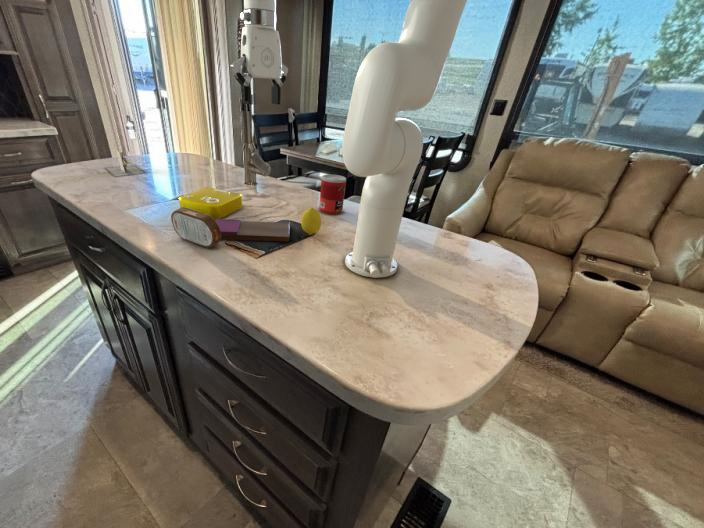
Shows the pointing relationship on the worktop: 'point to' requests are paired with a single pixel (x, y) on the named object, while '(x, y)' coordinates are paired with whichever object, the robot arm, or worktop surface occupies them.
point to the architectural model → (124, 167)
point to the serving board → (260, 232)
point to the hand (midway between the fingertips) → (261, 104)
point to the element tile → (212, 202)
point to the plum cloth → (228, 225)
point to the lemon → (311, 221)
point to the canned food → (332, 194)
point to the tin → (196, 227)
